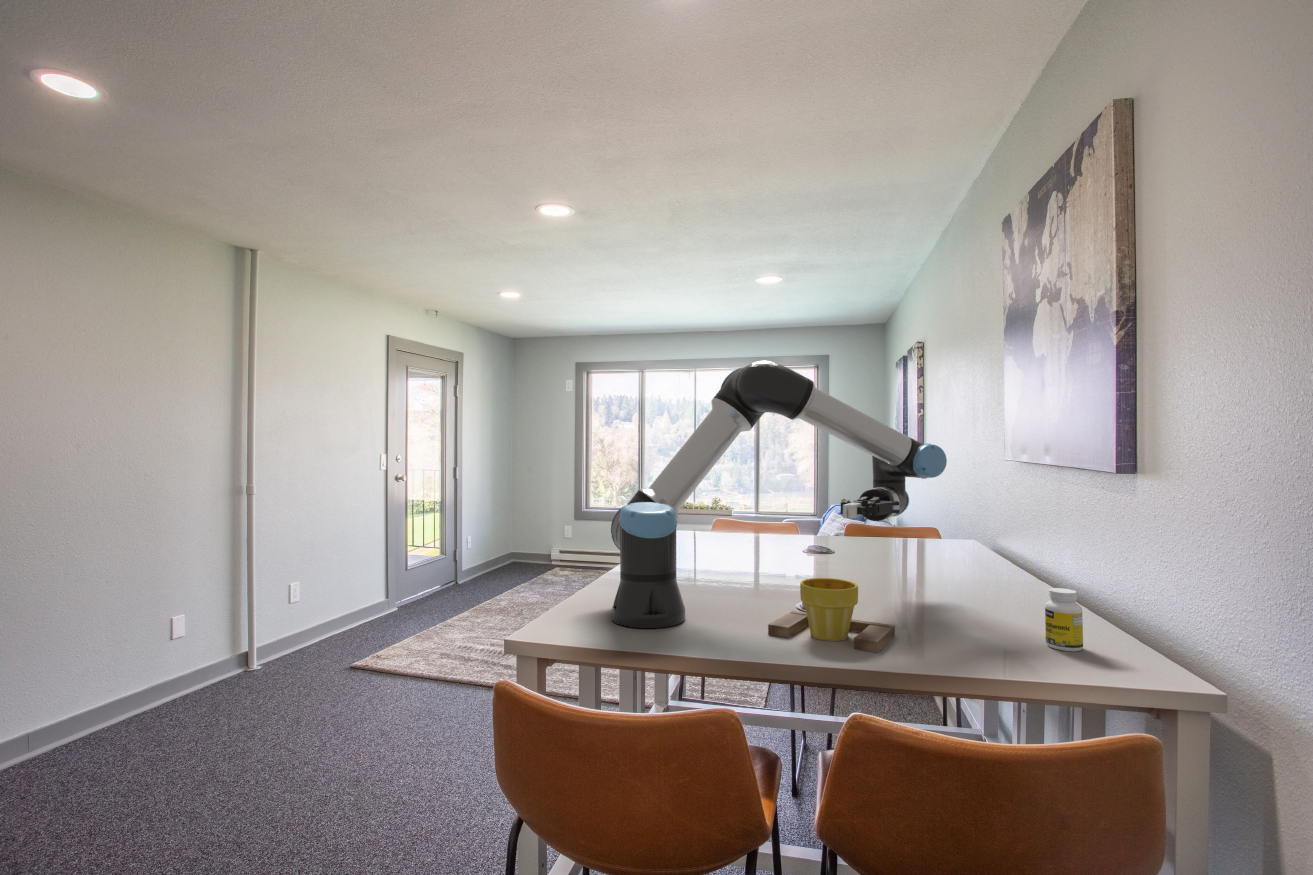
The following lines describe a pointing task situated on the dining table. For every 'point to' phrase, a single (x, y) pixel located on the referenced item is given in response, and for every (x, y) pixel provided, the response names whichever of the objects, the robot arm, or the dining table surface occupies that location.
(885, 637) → the brown u-shaped block
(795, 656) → the dining table surface
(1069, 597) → the supplement bottle
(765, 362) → the robot arm
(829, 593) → the plant pot
